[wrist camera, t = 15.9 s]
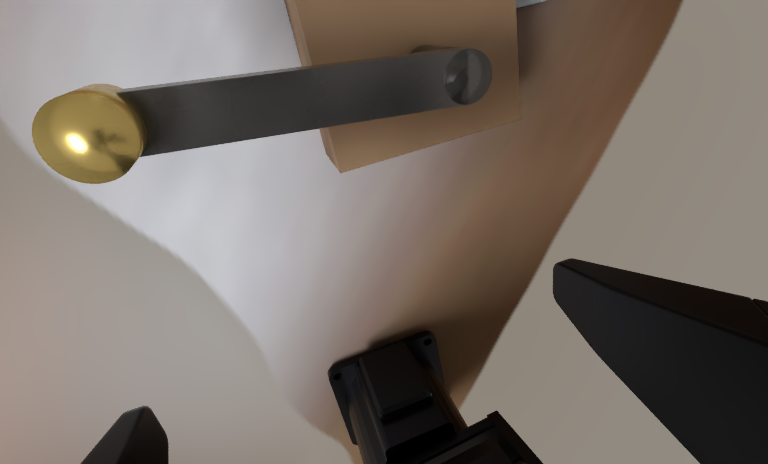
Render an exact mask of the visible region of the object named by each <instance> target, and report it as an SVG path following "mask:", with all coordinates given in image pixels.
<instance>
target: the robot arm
mask: <svg viewBox="0 0 768 464" xmlns="http://www.w3.org/2000/svg"><path fill="white" fill-rule="evenodd" d="M553 294H554V298H555V300H556V302H557V304H558V305H559V306H560V307H561V309H562V310H563V311H564V313H565V314H566V315H567V317H568V318H569V319H570V320H571V322H572V323H573V324H574V326H575V327H576V328H577V329H578V331H579V332H580V333H581V335H582V336H583V337H584V339H585V340H586V341H587V342H588V343H589V345H590V346H591V347H592V349H593V350H594V351H595V352H596V353H597V355H598V356H599V357H600V358H601V359H602V360H603V361H604V362H605V363H606V364H607V366H609V368H610V369H611V370H612V371H613V372H614V373H615V374H616V375H617V376H618V377H619V378H620V379H621V380H622V381H623V382H624V383H625V385H627V387H628V388H629V389H630V390H631V391H632V392H633V393H634V394H635V395H636V396H637V397H638V398H639V399H640V400H641V401H642V402H643V403H644V405H645V406H647V408H648V409H649V410H650V411H651V412H652V413H653V414H654V415H655V416H656V417H657V418H658V419H659V420H660V422H661V423H662V424H663V425H664V426H665V427H666V428H667V429H668V430H669V431H670V432H671V433H672V434H673V435H674V436H675V437H676V438H677V439H678V441H679V442H680V443H681V444H682V445H683V446H684V447H685V448H686V449H687V450H688V451H689V452H690V453H691V454H692V455H693V456H694V457H695V458H696V460H697V461H698V462H699V463H700V464H768V302H767V301H763V300H758V299H753V300H752V299H750V298H749V297H744V296H740V295H735V294H731V293H726V292H722V291H717V290H713V289H708V288H704V287H699V286H695V285H690V284H686V283H681V282H676V281H672V280H667V279H663V278H658V277H653V276H649V275H645V274H640V273H636V272H631V271H627V270H622V269H618V268H613V267H609V266H604V265H599V264H595V263H590V262H586V261H582V260H577V259H567V260H564V261H561V262H558V263H556V264H555V266H554V268H553ZM426 339H428V340H427V341H425V340H426ZM337 373H340V374H339V375H336V376H335V374H337ZM328 377H329V381H330V384H331V386H332V389H333V392H334V394H335V397H336V400H337V403H338V405H339V408H340V411H341V414H342V416H343V419H344V422H345V424H346V427H347V430H348V433H349V435H350V438H351V441H352V443H353V444H355V445H358V447H359V450H360V454H361V457H362V460H363V464H543V463H542V462H541V461H540V459H539V458H538V457H537V456H536V455H535V454H534V453H533V452H532V450H531V449H530V448H529V447H528V446H527V445H526V443H525V442H524V441H523V440H522V439H521V438H520V437H519V435H518V434H517V433H516V432H515V431H514V430H513V428H512V427H511V426H510V425H509V424H508V423H507V422H506V420H505V419H504V418H503V417H502V416H501V415H500V414H499V412H498V411H495V412H493V413H491V414H489V415H487V418H485V419H483V420H481V421H479V422H477V423H475V424H473V425H471V426H469V427H468V426H467V424H466V423H465V421H464V419H463V418H462V416H461V414H460V413H459V411H458V409H457V407H456V406H455V404H454V402H453V401H452V399H451V397H450V395H449V394H448V392H447V390H446V389H445V387H444V381H443V376H442V370H441V365H440V360H439V354H438V349H437V344H436V339H435V337H434V335H433V334H432V332H430V331H424V332H421V333H419V334H416V335H413V336H411V337H408V338H405V339H403V340H400V341H398V342H395V343H392V344H390V345H387V346H384V347H382V348H379V349H377V350H374V351H371V352H369V353H366V354H364V355H361V356H358V357H356V358H353V359H350V360H348V361H345V362H343V363H340V364H337V365H335V366H333V367H331V368H330V369H329V371H328ZM81 464H168V439H167V435H166V433H165V431H164V429H163V428H162V426H161V425H160V423H159V421H158V420H157V418H156V416H155V415H154V413H153V411H152V410H151V409H150V408H149V407H148V406H142V407H138V408H136V409H133V410H130V411H127V412H125V413H123V414H122V415H121V416H120V417H119V419H118V420H117V421H116V422H115V423H114V425H113V426H112V427H111V428H110V429H109V430H108V432H107V433H106V434H105V435H104V436H103V438H102V439H101V440H100V441H99V442H98V444H97V445H96V446H95V447H94V448H93V449H92V451H91V452H90V453H89V454H88V456H87V457H86V458H85V459H84V460H83V461H82V463H81Z"/></svg>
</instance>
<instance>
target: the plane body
mask: <svg viewBox="0 0 768 464" xmlns="http://www.w3.org/2000/svg"><path fill="white" fill-rule="evenodd" d="M284 1H285V5H286V9H287V12H288V16H289V19H290V23H291V27H292V30H293V34H294V38H295V41H296V45H297V49H298V52H299V56H300V60H301V63H302V67H304V66H313V65H321V64H329V63H337V62H345V61H353V60H361V59H369V58H377V57H385V56H393V55H401V54H409V53H411V52H412V51H413V50H414V49H415V48H417V47H419V46H421V45H435V46H448V47H460V48H472V49H477V50H480V51H481V52H483V53H484V54H485V55H486V56H487V57H488V59H489V61H490V63H491V67H492V80H491V84H490V86H489V89H488V90H487V92H486V94H485V95H484V96H483V97H482V98H481V99H480V100H478V101H477V102H475V103H473V104H469V105H463V106H457V107H451V108H444V109H438V110H432V111H426V112H419V113H413V114H407V115H400V116H394V117H388V118H382V119H375V120H369V121H363V122H356V123H350V124H344V125H338V126H331V127H325V128H319V129H320V133H321V136H322V140H323V144H324V147H325V151H326V154H327V156H328V157H329V158H330V160H331V161H332V162H333V164H334V165H335V167H336V168H337V169H338V171H339V172H340V173H343V172H346V171H349V170H353V169H356V168H359V167H363V166H366V165H369V164H373V163H376V162H379V161H383V160H386V159H389V158H393V157H396V156H399V155H403V154H406V153H410V152H413V151H416V150H420V149H423V148H426V147H430V146H433V145H436V144H440V143H443V142H446V141H450V140H453V139H456V138H460V137H463V136H466V135H470V134H473V133H476V132H480V131H483V130H486V129H490V128H493V127H496V126H500V125H503V124H506V123H510V122H513V121H516V120H520V119H521V106H520V84H519V62H518V40H517V18H516V0H284Z"/></svg>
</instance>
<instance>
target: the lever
mask: <svg viewBox="0 0 768 464" xmlns="http://www.w3.org/2000/svg"><path fill="white" fill-rule="evenodd" d="M491 80H492V67H491V63H490V61H489V59H488V57H487V56H486V55H485V54H484V53H483V52H481V51H480V50H477V49H472V48H460V47H448V46H435V45H421V46H419V47H417V48H415V49H414V50H413V51H412V52H411V53H409V54H401V55H393V56H385V57H377V58H369V59H361V60H353V61H345V62H337V63H329V64H321V65H313V66H304V67H296V68H288V69H280V70H272V71H264V72H256V73H248V74H240V75H232V76H224V77H216V78H208V79H200V80H192V81H184V82H176V83H168V84H160V85H152V86H144V87H136V88H128V89H122V88H120V87H117V86H114V85H109V84H92V85H88V86H85V87H82V88H80V89H77V90H74V91H72V92H69V93H66V94H64V95H61V96H59V97H56V98H54V99H52V100H50V101H48V102H47V103H45V104H44V105H43V106H42V107H41V108H40V109H39V111H38V112H37V114H36V116H35V118H34V121H33V125H32V137H33V141H34V144H35V147H36V149H37V151H38V153H39V155H40V156H41V157H42V159H43V160H44V161H45V162H46V163H47V164H48V165H49V166H50V167H51V168H52V169H53V170H55V171H56V172H58V173H59V174H61V175H63V176H65V177H67V178H69V179H72V180H75V181H78V182H82V183H90V184H100V183H106V182H110V181H113V180H116V179H118V178H120V177H121V176H123V175H124V174H126V173H127V172H128V171H129V170H130V168H131V167H132V166H133V164H134V163H135V162H136V160H137V159H138V158H139V157H143V156H149V155H155V154H161V153H168V152H174V151H180V150H187V149H193V148H199V147H205V146H212V145H218V144H224V143H231V142H237V141H243V140H249V139H256V138H262V137H268V136H275V135H281V134H287V133H293V132H300V131H306V130H312V129H319V128H325V127H331V126H338V125H344V124H350V123H356V122H363V121H369V120H375V119H382V118H388V117H394V116H400V115H407V114H413V113H419V112H426V111H432V110H438V109H444V108H451V107H457V106H463V105H469V104H473V103H475V102H477V101H478V100H480V99H481V98H482V97H483V96H484V95H485V94H486V92H487V90H488V89H489V86H490V84H491Z"/></svg>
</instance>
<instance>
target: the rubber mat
mask: <svg viewBox="0 0 768 464" xmlns="http://www.w3.org/2000/svg"><path fill="white" fill-rule="evenodd" d="M543 1H547V0H516V8H519V7H523V6H527V5H531V4H535V3H539V2H543Z"/></svg>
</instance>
